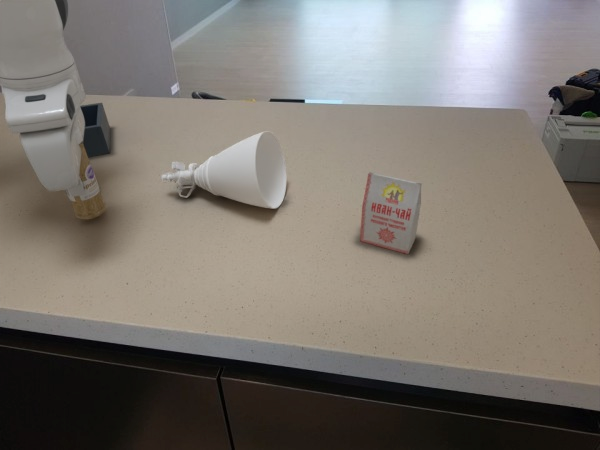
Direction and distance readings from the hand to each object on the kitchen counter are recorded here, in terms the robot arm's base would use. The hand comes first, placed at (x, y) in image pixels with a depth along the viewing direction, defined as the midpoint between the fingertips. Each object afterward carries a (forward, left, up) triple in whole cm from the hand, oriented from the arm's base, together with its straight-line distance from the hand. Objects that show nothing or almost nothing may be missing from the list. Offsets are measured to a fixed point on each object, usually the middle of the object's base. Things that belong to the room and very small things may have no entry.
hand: (80, 183), depth 65 cm
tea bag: (+39, -20, -7) cm, 45 cm away
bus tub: (-4, +27, -6) cm, 28 cm away
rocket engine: (+21, 0, -7) cm, 22 cm away
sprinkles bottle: (0, 0, -5) cm, 5 cm away
